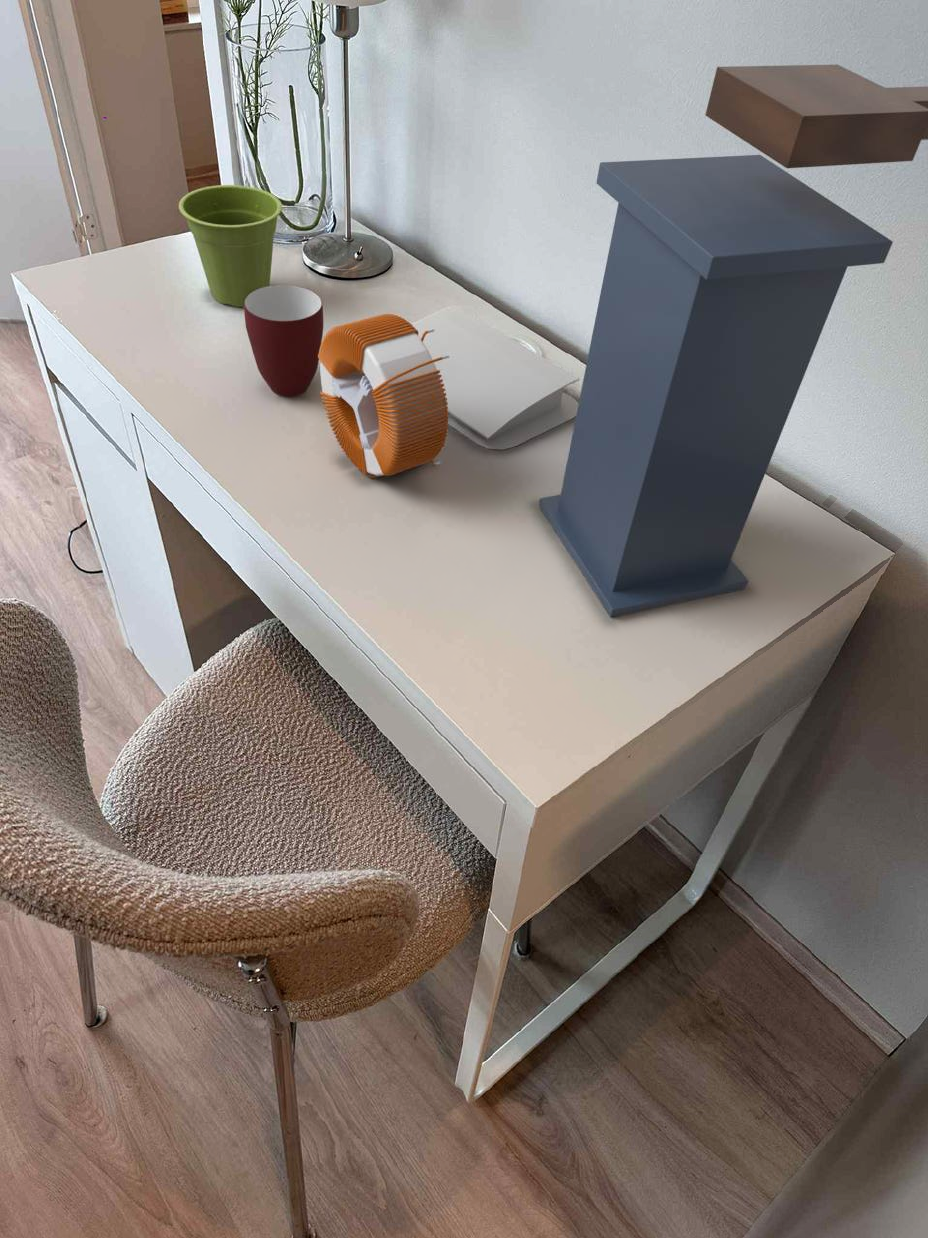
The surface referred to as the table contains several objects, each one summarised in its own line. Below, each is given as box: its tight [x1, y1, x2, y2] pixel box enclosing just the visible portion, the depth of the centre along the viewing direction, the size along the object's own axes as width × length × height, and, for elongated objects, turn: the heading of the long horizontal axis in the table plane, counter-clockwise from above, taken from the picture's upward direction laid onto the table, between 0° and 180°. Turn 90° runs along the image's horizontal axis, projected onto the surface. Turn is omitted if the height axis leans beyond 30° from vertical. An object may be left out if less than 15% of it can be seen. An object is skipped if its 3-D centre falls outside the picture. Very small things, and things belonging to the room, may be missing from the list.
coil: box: [318, 313, 449, 478], centre depth 86 cm, size 7×15×15 cm, turn 36°
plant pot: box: [178, 184, 283, 308], centre depth 109 cm, size 12×12×11 cm
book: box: [410, 304, 580, 451], centre depth 101 cm, size 15×23×4 cm, turn 43°
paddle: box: [705, 64, 928, 169], centre depth 61 cm, size 24×10×3 cm, turn 110°
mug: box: [243, 284, 324, 398], centre depth 96 cm, size 11×8×10 cm
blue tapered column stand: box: [538, 154, 894, 618], centre depth 73 cm, size 14×16×32 cm
